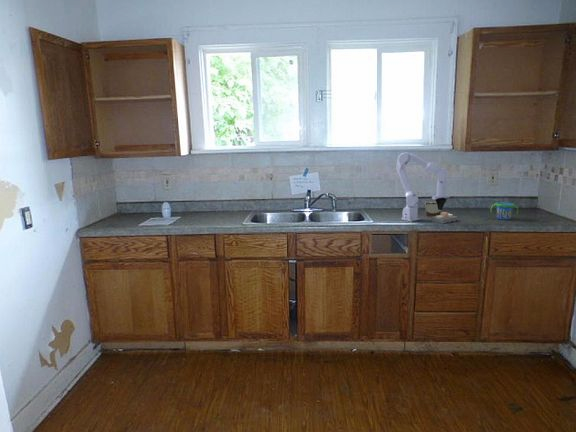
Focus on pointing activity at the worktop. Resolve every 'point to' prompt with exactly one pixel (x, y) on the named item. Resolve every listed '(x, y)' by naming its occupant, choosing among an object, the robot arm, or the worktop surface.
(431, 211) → the half round cake
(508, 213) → the snack cup
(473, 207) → the worktop surface
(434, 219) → the key console
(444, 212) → the key terracotta
